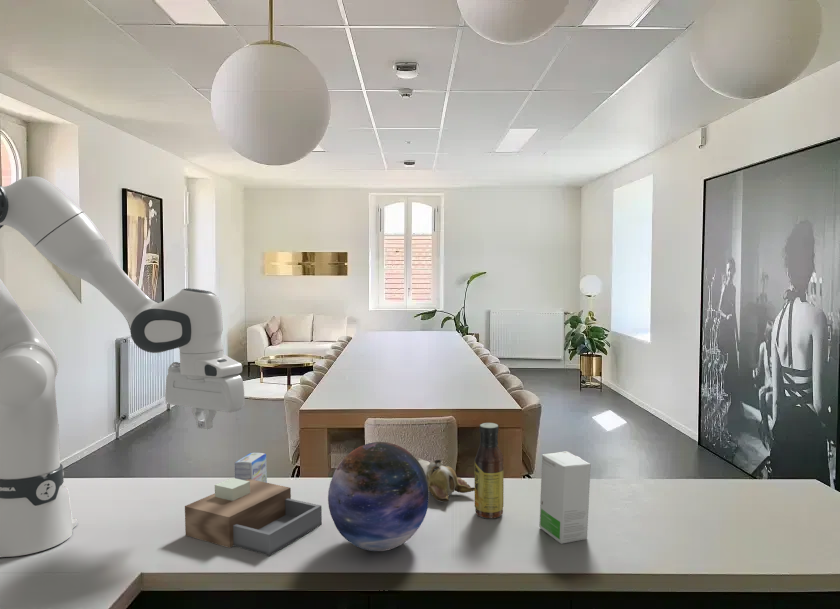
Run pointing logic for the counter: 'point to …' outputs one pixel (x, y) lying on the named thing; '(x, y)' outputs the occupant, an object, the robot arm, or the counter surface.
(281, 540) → the bin
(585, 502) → the skincare box
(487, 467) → the sauce bottle
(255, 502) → the wooden drawer casing
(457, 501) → the counter surface
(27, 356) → the robot arm
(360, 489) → the decorative sphere
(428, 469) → the ceramic sculpture
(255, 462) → the medicine box
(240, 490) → the tile
